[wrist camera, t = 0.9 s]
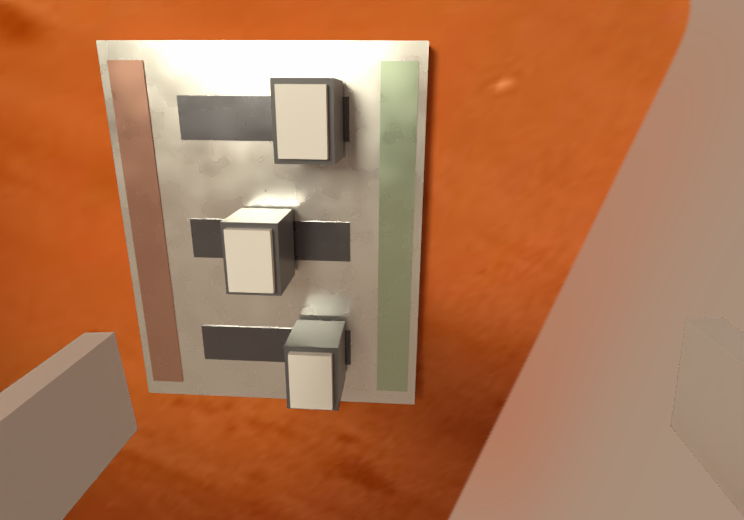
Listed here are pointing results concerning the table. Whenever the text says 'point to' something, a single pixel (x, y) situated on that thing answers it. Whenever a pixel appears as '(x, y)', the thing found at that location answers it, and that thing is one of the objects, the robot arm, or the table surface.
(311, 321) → the breaker
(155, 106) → the panel
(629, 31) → the table surface
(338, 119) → the block
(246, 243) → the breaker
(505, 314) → the table surface
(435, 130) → the table surface
